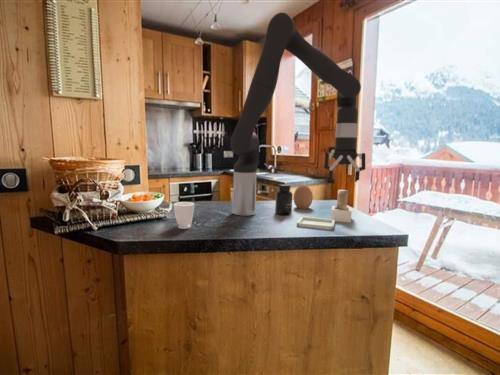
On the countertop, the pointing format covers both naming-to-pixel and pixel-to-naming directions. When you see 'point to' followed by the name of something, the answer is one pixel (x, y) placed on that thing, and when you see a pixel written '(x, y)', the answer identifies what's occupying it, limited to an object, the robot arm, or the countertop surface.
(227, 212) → the countertop surface
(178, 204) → the cup
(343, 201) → the dowel
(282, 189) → the supplement bottle
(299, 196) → the egg
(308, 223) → the tray
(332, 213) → the holder cup
